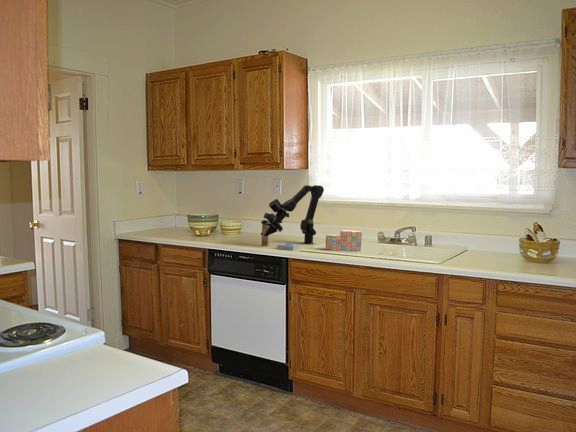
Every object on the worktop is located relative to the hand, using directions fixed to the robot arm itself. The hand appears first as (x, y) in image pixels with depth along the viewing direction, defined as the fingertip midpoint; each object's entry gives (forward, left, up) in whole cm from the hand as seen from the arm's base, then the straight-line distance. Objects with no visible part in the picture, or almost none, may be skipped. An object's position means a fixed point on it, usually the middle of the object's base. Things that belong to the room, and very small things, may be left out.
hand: (263, 235), depth 325 cm
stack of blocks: (-14, +48, -7) cm, 51 cm away
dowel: (-1, +1, -7) cm, 7 cm away
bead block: (+2, +18, -7) cm, 19 cm away
